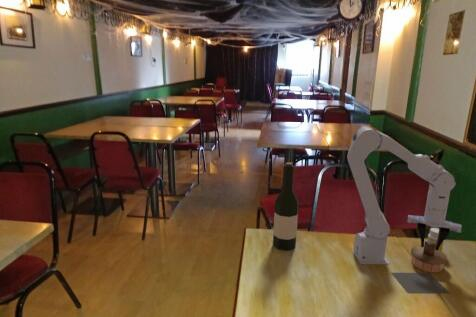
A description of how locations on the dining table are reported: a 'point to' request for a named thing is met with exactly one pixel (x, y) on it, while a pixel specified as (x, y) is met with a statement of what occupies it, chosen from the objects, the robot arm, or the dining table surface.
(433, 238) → the supplement bottle
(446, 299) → the dining table surface
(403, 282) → the mat
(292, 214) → the wine bottle
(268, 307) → the dining table surface
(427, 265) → the bowl
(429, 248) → the lid
